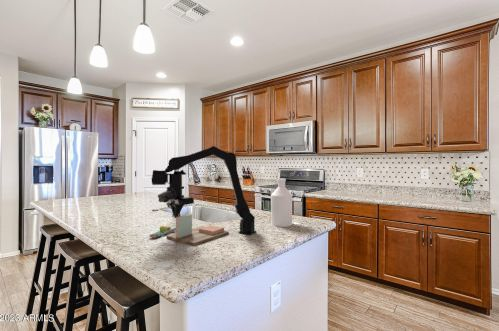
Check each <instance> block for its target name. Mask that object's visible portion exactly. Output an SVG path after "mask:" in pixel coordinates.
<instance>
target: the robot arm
mask: <svg viewBox="0 0 499 331" xmlns="http://www.w3.org/2000/svg"><path fill="white" fill-rule="evenodd" d="M211 156H214V157H217V158H218V159H221V160H223V162H224V165H225V167H226V169H227V170H228V174H229V177H230V181H231V185H232V188H233V192H234V196H235V203H233V206H234V208H235V213H236V215H237V214H238V216H239V217H240V218H241V219H240V222H239V231H238V234H243V235H252V234H255V233H257V230H256V229H255V228H256V227H255V218H256V217H255V216H254V215H253V213H252V212H251V210H250V208H249V206H248V203H247V201H246V199H245V196H244V192H243V188H242V185H241V182H240V181H241V180H240V177H239V174H238V168H237V166H238V164H237V156H236V154H235V153H234V152H229V151H228V152H226V151H224V150H222V149H220V148H217V147H216V146H211V147H208V148H204V149H202V150H200V151H197V152H194V153H191V154H188V155H183V156H176V157H172V158H170V159H169V160H168V165H167V167H166V168H165V170H157V169H153V170H152V173H151V174H152V175H151V185H152V186H166V184H167V183H169V186H167V187H166V190H165V191H163V192H161V193H159V194H158V195H157V198H158V202H159V203H164V204H166V205H167V206H169V207H170V209H171V212H172V214H173V218H174V219H176V217H178V216H180V213H181V211H182V209H183V208H184V206H186V205H187V206H188V205H192V204H195V198H193V197H192V196H185V195H184V194H183V189H185V186H183V176H184V175H187V172H185V171H184V169H182V168H184V167H186V166H187V165H189V164H191V163H193V162H196V161H200V160H203V159H205V158H208V157H211ZM180 169H181V170H180ZM177 170H178V171H177ZM179 170H180V171H179ZM172 172H173V173H172Z"/></svg>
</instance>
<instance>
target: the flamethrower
mask: <svg viewBox="0 0 499 331" xmlns="http://www.w3.org/2000/svg"><path fill="white" fill-rule="evenodd" d="M175 233H176V227H174V228H171V227H170V226H164V225H161V226H160V227H159V230H158V231H156V232H154V233H153V234H152V233H151V234H149V237H150V238H153V239H154V238H158V237H161V236H162V237H164V236H166V235H168V234H175Z"/></svg>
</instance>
